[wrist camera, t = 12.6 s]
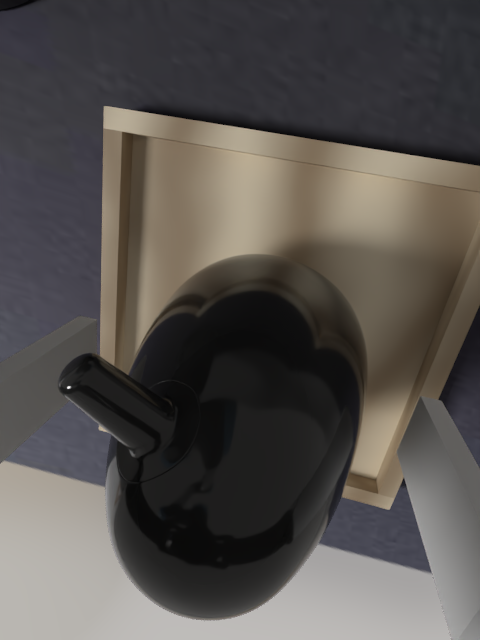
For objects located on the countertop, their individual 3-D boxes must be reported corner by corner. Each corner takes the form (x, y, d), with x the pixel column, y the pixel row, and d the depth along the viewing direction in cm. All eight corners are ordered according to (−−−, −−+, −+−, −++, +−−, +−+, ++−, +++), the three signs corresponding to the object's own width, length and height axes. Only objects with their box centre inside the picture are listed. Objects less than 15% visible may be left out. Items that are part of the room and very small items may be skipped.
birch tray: (113, 413, 27) (98, 429, 25) (123, 112, 20) (103, 105, 18) (383, 485, 25) (389, 509, 23) (513, 176, 17) (536, 175, 15)
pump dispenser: (308, 202, 19) (288, 269, 5) (384, 368, 21) (519, 735, 7) (152, 285, 22) (-126, 466, 8) (234, 420, 24) (126, 738, 11)
